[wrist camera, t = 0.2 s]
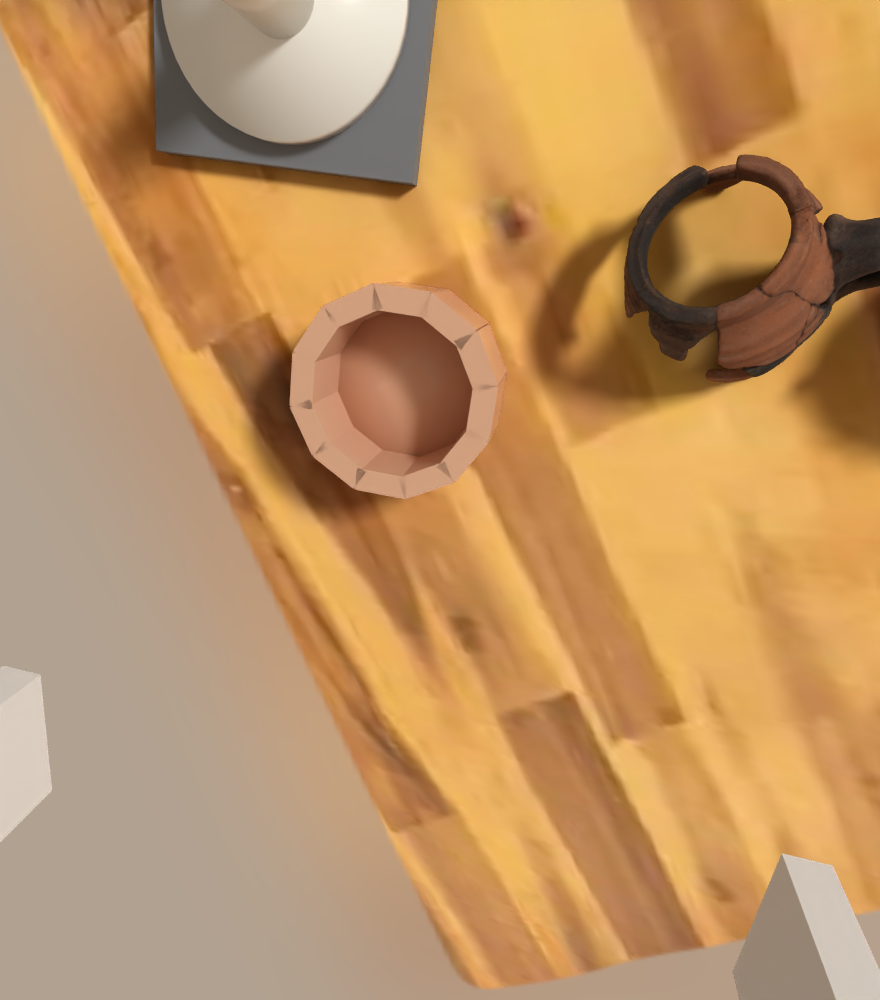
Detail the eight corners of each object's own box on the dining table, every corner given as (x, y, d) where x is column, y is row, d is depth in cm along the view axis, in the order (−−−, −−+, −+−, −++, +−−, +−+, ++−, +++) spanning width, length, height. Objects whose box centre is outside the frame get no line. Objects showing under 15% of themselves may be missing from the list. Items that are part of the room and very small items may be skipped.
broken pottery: (658, 410, 36) (619, 370, 28) (639, 249, 37) (597, 172, 30) (929, 359, 30) (964, 292, 23) (895, 170, 31) (918, 51, 24)
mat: (163, -179, 31) (150, -194, 30) (455, -162, 29) (451, -176, 28) (166, 153, 35) (155, 150, 34) (416, 185, 34) (412, 183, 33)
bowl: (331, 272, 36) (297, 271, 31) (519, 300, 35) (512, 303, 30) (318, 452, 39) (285, 476, 35) (488, 484, 38) (477, 513, 33)
